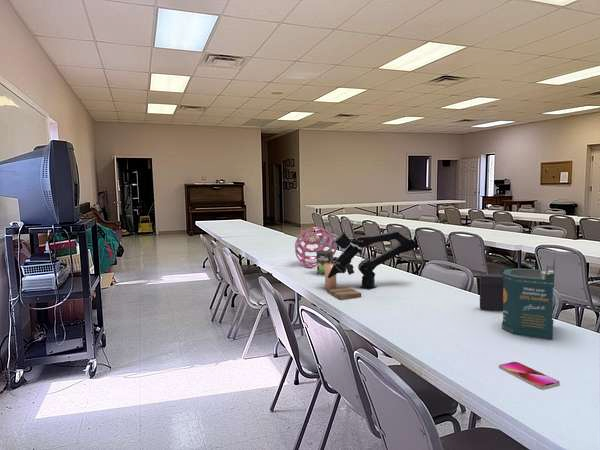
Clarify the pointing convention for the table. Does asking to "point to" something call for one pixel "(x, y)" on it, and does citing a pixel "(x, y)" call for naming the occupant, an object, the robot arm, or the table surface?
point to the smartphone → (529, 375)
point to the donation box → (528, 302)
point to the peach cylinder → (329, 281)
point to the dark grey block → (491, 292)
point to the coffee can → (323, 261)
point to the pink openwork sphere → (317, 241)
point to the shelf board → (344, 292)
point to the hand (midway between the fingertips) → (327, 276)
